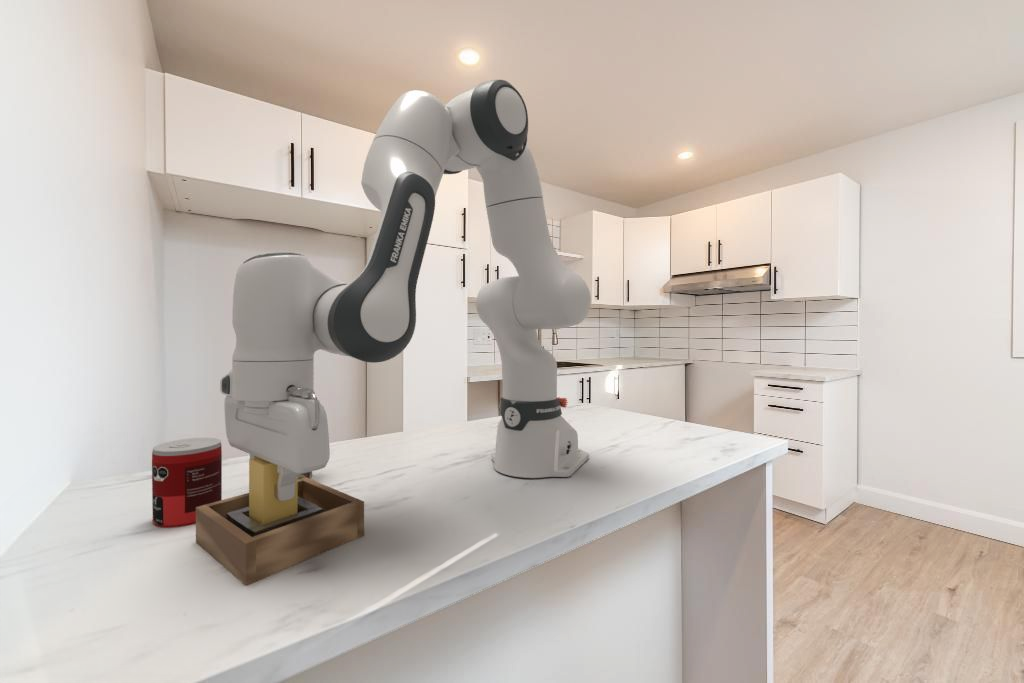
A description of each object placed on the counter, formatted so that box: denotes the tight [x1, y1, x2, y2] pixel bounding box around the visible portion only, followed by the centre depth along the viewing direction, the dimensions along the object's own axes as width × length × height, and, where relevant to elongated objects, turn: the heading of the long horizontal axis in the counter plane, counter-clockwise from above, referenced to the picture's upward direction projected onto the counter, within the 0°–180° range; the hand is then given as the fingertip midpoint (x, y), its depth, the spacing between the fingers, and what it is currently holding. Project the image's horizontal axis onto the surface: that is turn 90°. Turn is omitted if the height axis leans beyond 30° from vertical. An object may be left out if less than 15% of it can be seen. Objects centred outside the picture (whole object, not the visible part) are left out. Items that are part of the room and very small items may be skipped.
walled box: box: [195, 477, 365, 587], centre depth 54 cm, size 14×15×5 cm
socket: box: [226, 497, 323, 537], centre depth 53 cm, size 8×8×4 cm
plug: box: [248, 457, 298, 525], centre depth 53 cm, size 4×4×8 cm
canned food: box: [151, 437, 223, 529], centre depth 60 cm, size 8×8×11 cm
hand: (274, 493), depth 53 cm, fingers closed on plug, 4 cm apart
